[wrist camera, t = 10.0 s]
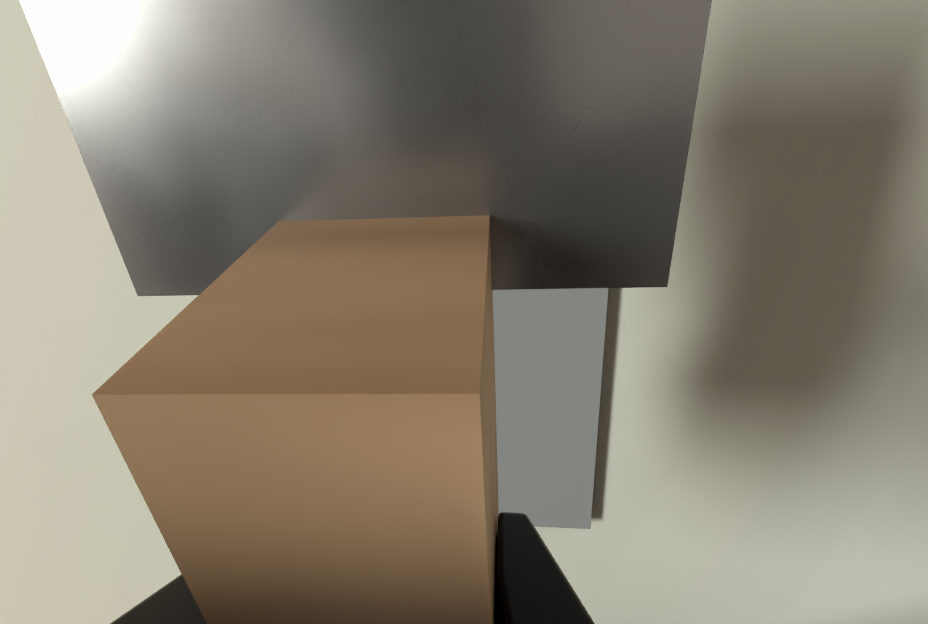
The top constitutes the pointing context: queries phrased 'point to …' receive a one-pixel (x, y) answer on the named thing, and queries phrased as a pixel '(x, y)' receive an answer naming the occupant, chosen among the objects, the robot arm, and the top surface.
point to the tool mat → (548, 401)
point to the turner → (357, 263)
